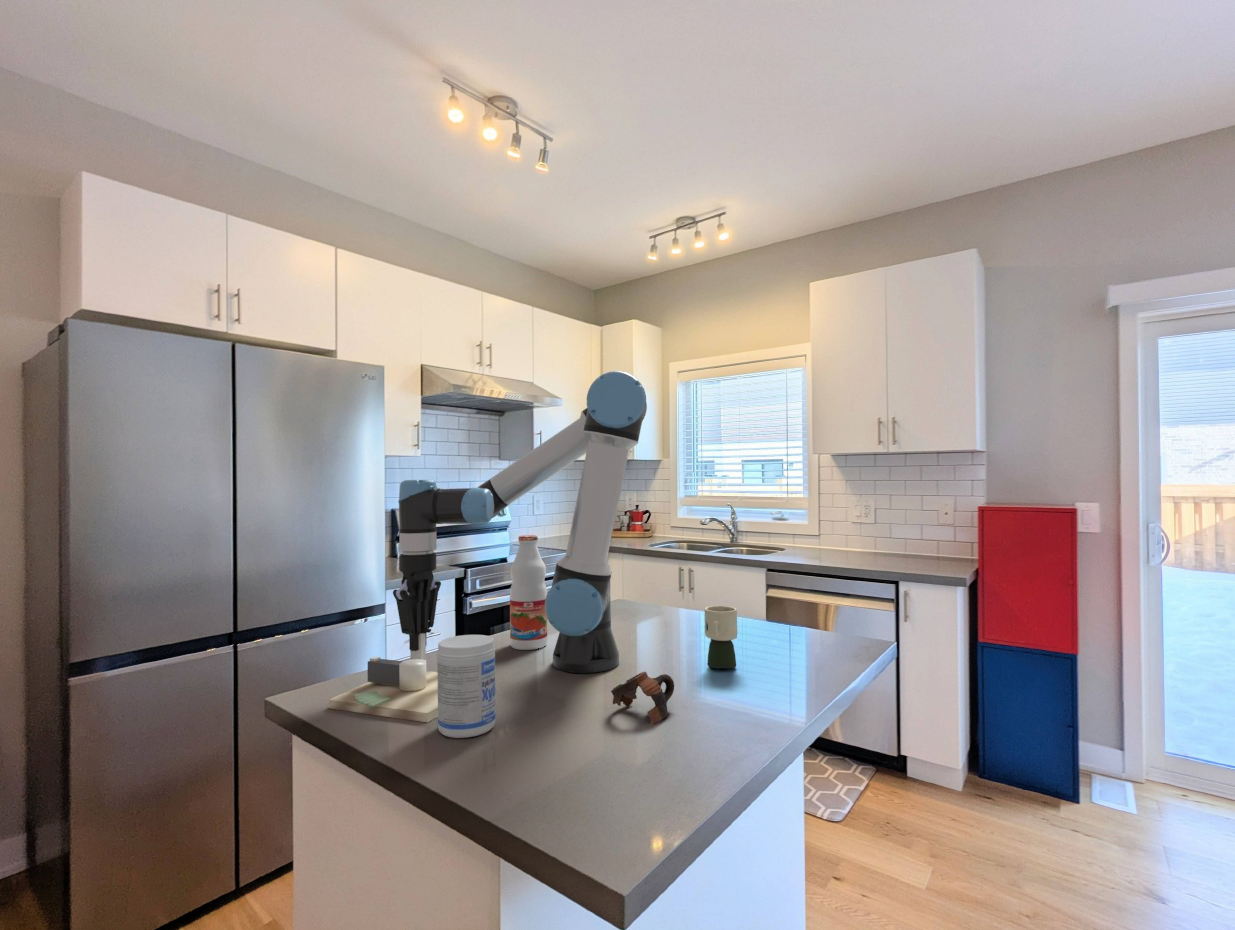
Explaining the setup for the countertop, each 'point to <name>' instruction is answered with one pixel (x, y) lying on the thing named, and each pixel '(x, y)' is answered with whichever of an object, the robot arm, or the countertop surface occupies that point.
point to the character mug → (721, 635)
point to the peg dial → (398, 673)
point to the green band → (370, 698)
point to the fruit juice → (528, 597)
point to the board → (394, 700)
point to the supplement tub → (466, 685)
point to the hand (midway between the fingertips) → (418, 664)
